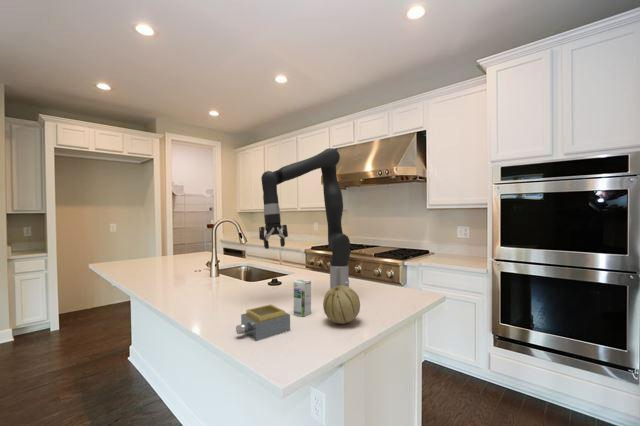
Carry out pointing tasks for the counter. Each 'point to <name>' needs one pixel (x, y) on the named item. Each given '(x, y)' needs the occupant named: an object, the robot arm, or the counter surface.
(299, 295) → the syrup box
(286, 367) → the counter surface
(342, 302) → the cantaloupe
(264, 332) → the tray
